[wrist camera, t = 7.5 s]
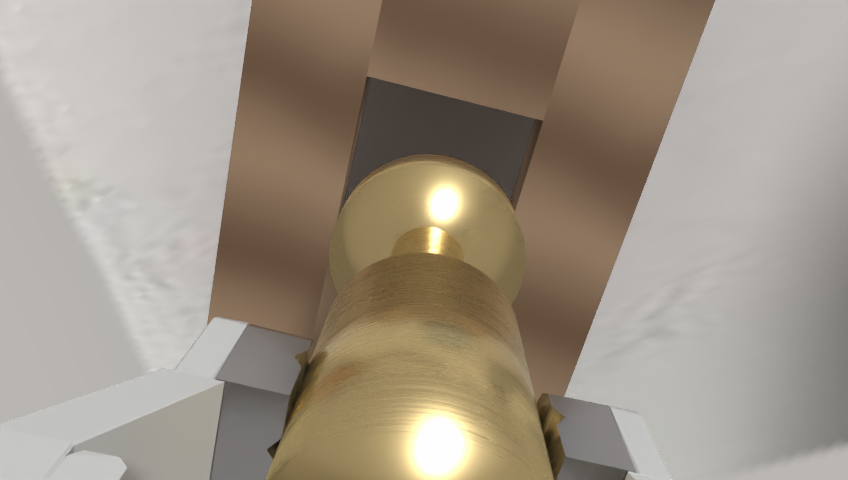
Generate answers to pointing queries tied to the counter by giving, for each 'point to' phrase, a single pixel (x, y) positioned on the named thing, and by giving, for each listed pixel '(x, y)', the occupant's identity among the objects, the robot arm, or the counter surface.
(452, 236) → the brass peg
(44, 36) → the counter surface
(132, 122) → the counter surface
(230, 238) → the keyhole shelf
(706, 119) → the counter surface
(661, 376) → the counter surface
